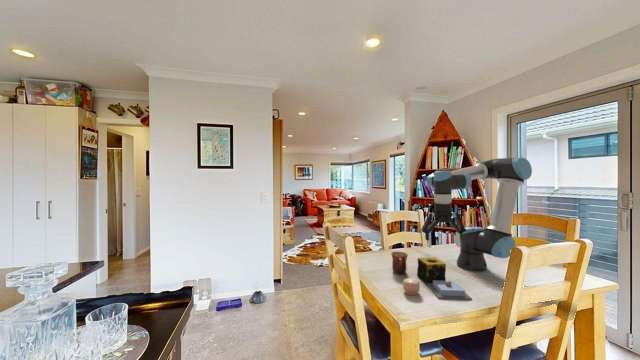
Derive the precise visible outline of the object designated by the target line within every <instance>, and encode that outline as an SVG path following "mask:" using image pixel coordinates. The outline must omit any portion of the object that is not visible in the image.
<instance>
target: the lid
mask: <svg viewBox="0 0 640 360" xmlns="http://www.w3.org/2000/svg"><path fill="white" fill-rule="evenodd" d="M433 286H434V287H435V288H436V290H437V291H438V292H439V293H440V294H441V295H445V296H465V293H466V290H465V289H464V288H463V287H462V286H460V285H459V284H458V283H457V282H456V281H455V280H445V281H437V280H433Z"/></svg>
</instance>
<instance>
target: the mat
mask: <svg viewBox="0 0 640 360" xmlns="http://www.w3.org/2000/svg"><path fill="white" fill-rule="evenodd" d="M426 285H427V287H428V288H429V289H430V291H431V292H432V293H433V294H434V295H435V296H436V298H437V299H439V300H460V301H461V300H466V301H472V299H473V298H472V297H471V296H470V295H469V294H468V293H467V292H465V296H445V295H441V294H440V293H439V292H438V291H437V290H436V288H435V287H434V286H433V284H432V283H427V284H426Z"/></svg>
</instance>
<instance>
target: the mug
mask: <svg viewBox="0 0 640 360" xmlns="http://www.w3.org/2000/svg"><path fill="white" fill-rule="evenodd" d="M390 254H391V258H392V264H391V265H392V267H391V268H392V272H393V273H394V274H396V275H405V274H406V273H407V260H408V256H409V254H408V253H407V252H404V251H391V253H390Z"/></svg>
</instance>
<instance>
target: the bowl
mask: <svg viewBox="0 0 640 360" xmlns="http://www.w3.org/2000/svg"><path fill="white" fill-rule="evenodd" d="M402 281H403V282H402V285H403V286H402V289H403V291H404V292H405V294H407V295H409V296H416V295H418V293H419V292H420V288H421V287H420V281H419V280H417V279H415V278H412V277H411V278H408V277H407V278H405V279H403V280H402Z"/></svg>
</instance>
